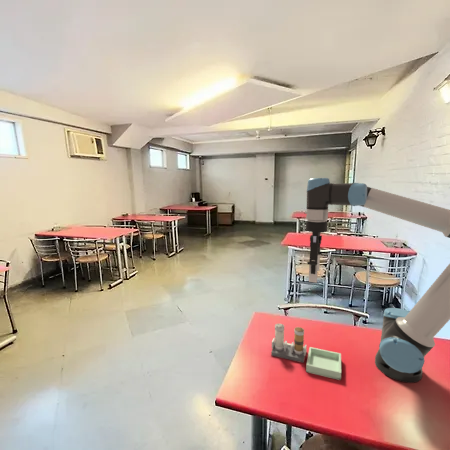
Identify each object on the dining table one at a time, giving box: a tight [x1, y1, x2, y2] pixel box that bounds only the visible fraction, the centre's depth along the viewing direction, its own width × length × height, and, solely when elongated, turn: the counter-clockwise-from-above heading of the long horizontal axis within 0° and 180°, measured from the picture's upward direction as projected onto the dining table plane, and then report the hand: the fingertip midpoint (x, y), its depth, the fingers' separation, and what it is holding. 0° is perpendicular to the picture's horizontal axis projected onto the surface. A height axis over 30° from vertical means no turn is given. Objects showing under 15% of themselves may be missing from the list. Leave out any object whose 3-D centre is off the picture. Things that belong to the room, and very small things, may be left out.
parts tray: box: [305, 346, 342, 381], centre depth 103 cm, size 12×12×3 cm
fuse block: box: [270, 337, 308, 364], centre depth 111 cm, size 14×8×4 cm, turn 67°
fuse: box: [274, 323, 285, 351], centre depth 112 cm, size 4×4×10 cm
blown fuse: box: [293, 326, 305, 355], centre depth 109 cm, size 4×4×10 cm
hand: (314, 275), depth 101 cm, fingers open, 13 cm apart
